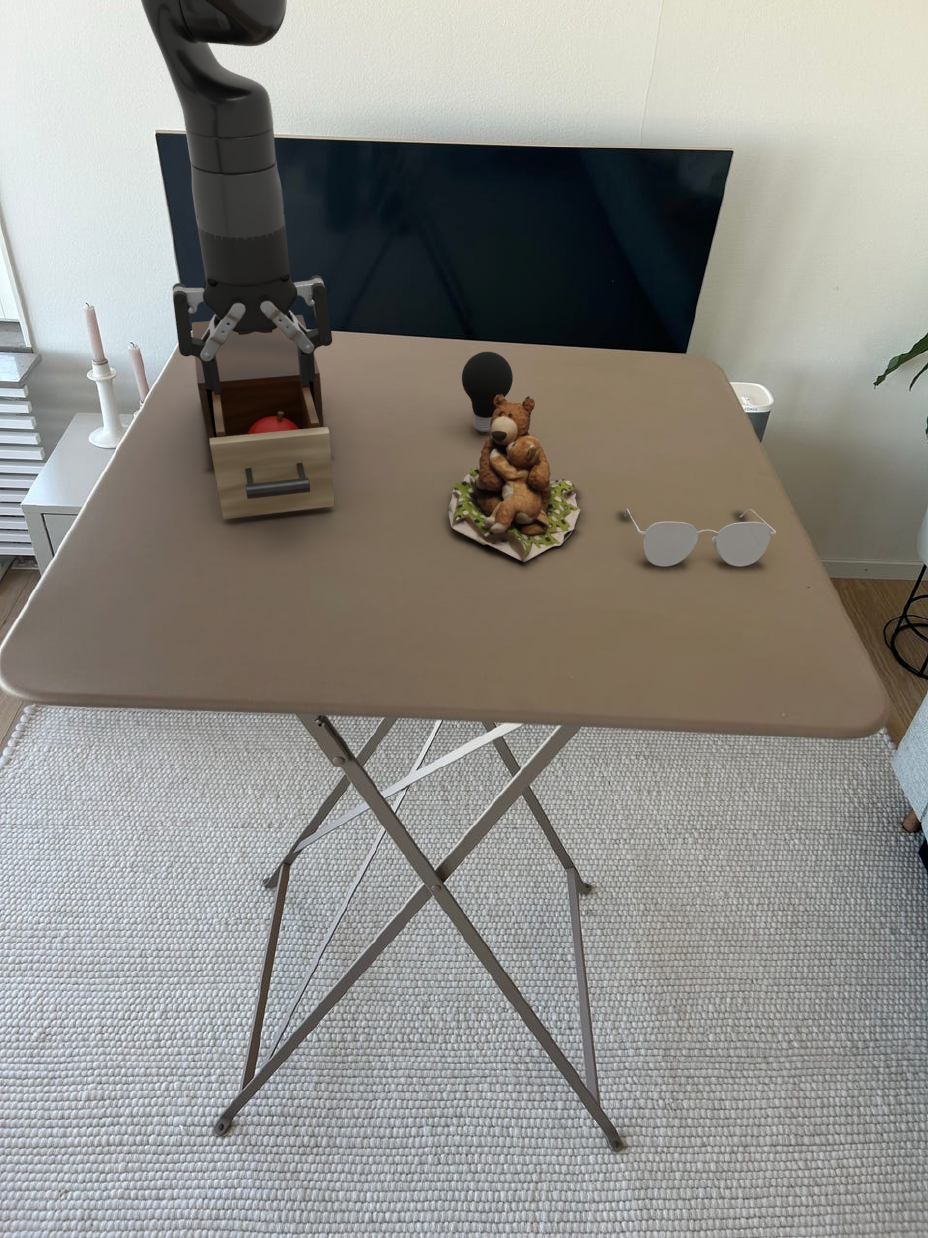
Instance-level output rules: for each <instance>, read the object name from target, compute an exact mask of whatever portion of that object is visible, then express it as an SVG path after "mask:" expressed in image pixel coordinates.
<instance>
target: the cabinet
mask: <svg viewBox="0 0 928 1238" xmlns="http://www.w3.org/2000/svg"><path fill="white" fill-rule="evenodd" d="M294 316H295V317H296V318H297V320H298V321H299V322H300V323H301V324H302V326H303V327H304V328H305V329H306V330H307V331H308V329H307V326H306V322H305V319H304V316H303V314H297V315H296V314H294ZM210 321H211V320H207V321H193V322H191V332H192V337H194V338H198V339H201V338H202V337H203V335H204V333H205V332H206V330H207V329H208V327H209V323H210ZM216 359H217V366H218V372H219V378H220V385H221V388H227V387H239V386H251V385H262V384H274V383H286V382H298V381H301V380H300V372H299V361H298V350H297V345H296V344H295V343H294V342H293V340H290V339H289V338H288V337H287V336H286V335H285V334H284V333H283V332H282V331H281V330H280V329H279V328H278V327H277V328H276V329H274V330H272V333H261V332H253V333H250V334H245V335H239V333H237V332H234V331H232V332H231V334H230V335H229V337H228V338H227V340H226V341H225V343H224V344H223V345H221V346H220V348H219V350H218V351H217V353H216ZM314 364H315V379H314V381H313V382H309V388H310V392H311V396H312V399H313V403H314V407H315V410H316V414H317V417H318V421H319V428H320V427H325V424H324V412H323V410H324V409H323V398H322V385H321V384H322V383H321V373H320V369H319V366H318V362H317V359H316V356H315V355H314ZM194 365H195V374H196V384H197V391H198V395H199V396H198V397H199V401H200V407H201V413H202V418H203V425H204V430H205V435H206V440H207V447H208V452H209V456H210V464H211V469H212V471H215V470H214V465H213V459H212V453H211V448H210V440H209V439H210V438H217V433H216V425H215V416H214V407H213V398H212V390H208V389H207V387H206V385H205V379H204V374H203V368H202V362H201V360H200V359H199V358H198V357H195V356H194Z"/></svg>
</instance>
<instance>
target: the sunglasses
mask: <svg viewBox="0 0 928 1238" xmlns="http://www.w3.org/2000/svg"><path fill="white" fill-rule="evenodd" d="M749 511H750V512H751V513H753V514H754V515H756V516H757V517H758V518H759V519H760V521H762V522H760V521H739V522H733V523H730V524H727V525H726V526H724V527H722V528H721V529H720V530H719V531H716V530H714V529H701V530H699V531H698V530H697V529H696V527H695V526H693V525H692V524H691V523H688V522H682V521H659V522H658V521H657V522H655V523H652V524H651V525H650V526H648V527H647V529H646V530H645V531H641V530H640V528H639V526H638V524H637V523H636V522H635V520H634V518H633V516H632V514H631V512H630V510H629V509H628V508H626V509H625V512H624V518H626V517H627V514H628V515H629V516H630V519H631V520H632V523H633V525H634V528H635V529H636V531H637V534H639V535H640V536H641V535H643V542H642V544H643V545H642V546H643V552H644V556H645V558H646V559H647V561H648V562H650V563H651V564H652V565H654V566H656V567H663V568H664V567H671V566H674V565H677V564H679V563H681V562H683V561H684V560H685V559H686V558H687V557H688V556H690V554H691V553H692V552H693V550H694V548H695V547H696V545H697V543H698V541H699V539H698V538H699V534H702V533H704V532H711V533H714V534H716V536H713V537H712V539H711V544H712V548H713V549H714V550H717V552H718V554H719V557H720V558H721V559H722V560H723V561H724V563H726V564H728V565H730V566H733V567H746V566H750V565H753V564H754V563H756V562H757V561H758V560H759V559H761V558H762V557H763V556H764V554H765V552H766V551H767V549H768V546H769V545H770V541H771V538H772V536H776V535H777V530H775V529H774V528H773V527H772V526H771V525H770V524H769V523H767V522H766V521H765V520H764V519H763V518H762V517H761V516H759V515H758V514H757V512H756V511H755V510H754V509H752V508H749V509H746V510H745V511H744V512H743V513H742V514H741V515H739V519H741V518H742V517H744V516H745V515H746V513H748V512H749Z"/></svg>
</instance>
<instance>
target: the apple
mask: <svg viewBox="0 0 928 1238" xmlns="http://www.w3.org/2000/svg"><path fill="white" fill-rule="evenodd" d="M283 416H284V413H283V412H281V411H279V412H278V415H277V416H271V417H266V418H263V419H261V420H259V421H257V422H256V423H255V424H254V425H253V426H252V427H251V428H250V430H249V432H248V434H258V433H268V432H279V431H289V430H299V428H298V427H297V426H296V425H295V424H294V423H293V422H291V421H290V420H288V419H285V418H283ZM248 434H247V435H248Z"/></svg>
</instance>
